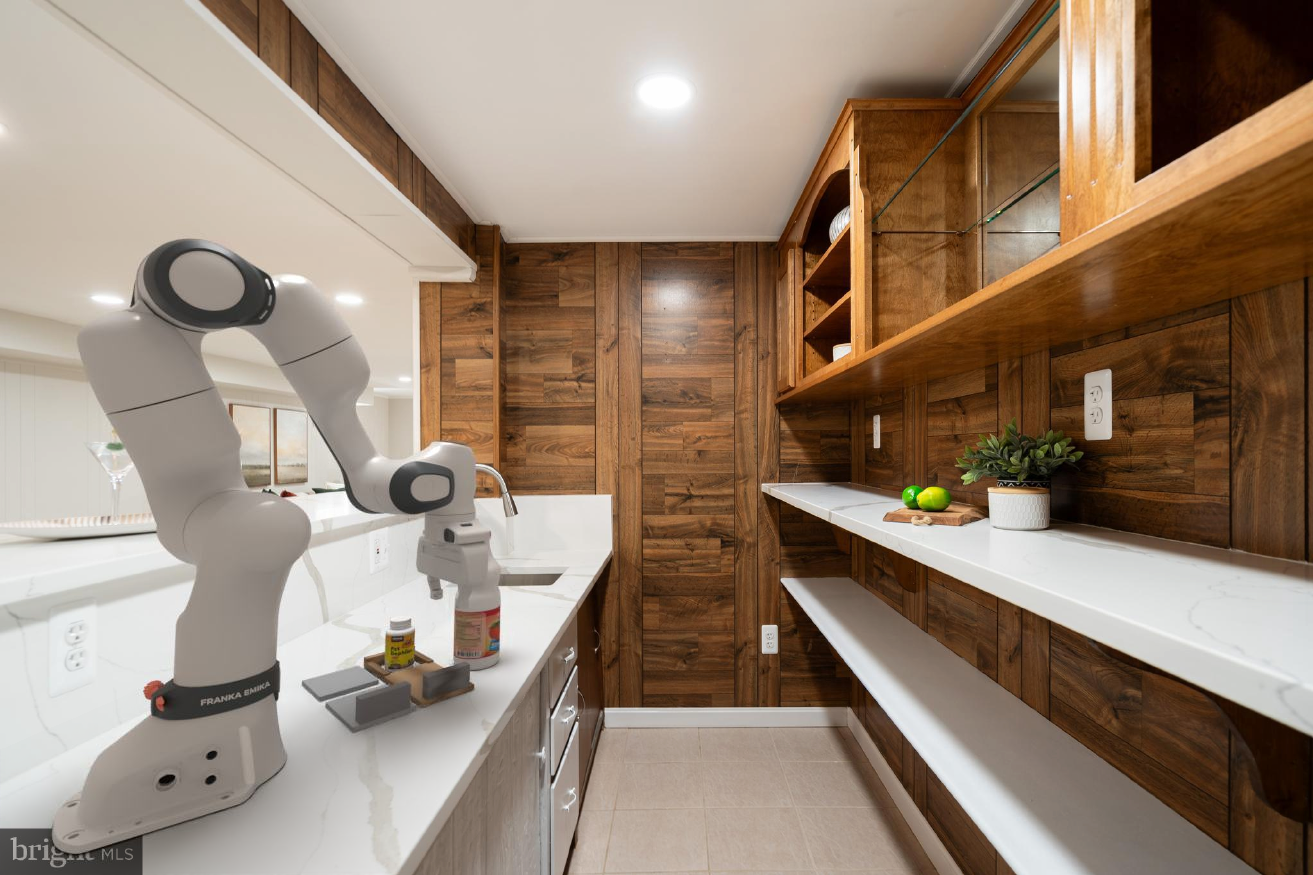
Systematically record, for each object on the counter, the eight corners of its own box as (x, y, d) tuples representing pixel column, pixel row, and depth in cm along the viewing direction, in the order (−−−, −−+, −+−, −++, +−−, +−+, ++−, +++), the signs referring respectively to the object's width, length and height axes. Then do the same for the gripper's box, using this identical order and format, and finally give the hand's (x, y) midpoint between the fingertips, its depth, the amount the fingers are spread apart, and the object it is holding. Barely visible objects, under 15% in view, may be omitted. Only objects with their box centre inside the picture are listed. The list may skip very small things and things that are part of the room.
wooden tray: (421, 707, 92) (422, 679, 92) (363, 667, 109) (364, 643, 109) (474, 688, 99) (474, 662, 99) (412, 653, 116) (412, 631, 117)
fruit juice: (451, 658, 114) (454, 529, 116) (495, 651, 118) (498, 527, 120) (455, 674, 106) (458, 535, 107) (503, 666, 110) (505, 532, 111)
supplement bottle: (386, 675, 105) (387, 624, 106) (382, 666, 110) (384, 617, 110) (416, 669, 108) (417, 619, 109) (411, 660, 113) (413, 612, 113)
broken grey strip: (353, 732, 83) (353, 701, 83) (301, 684, 101) (302, 659, 101) (416, 710, 91) (416, 682, 91) (358, 669, 108) (359, 645, 108)
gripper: (408, 525, 102) (406, 596, 101) (462, 535, 88) (460, 618, 88) (439, 522, 107) (438, 590, 106) (495, 531, 93) (493, 610, 93)
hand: (448, 603), depth 97 cm, fingers open, 8 cm apart
